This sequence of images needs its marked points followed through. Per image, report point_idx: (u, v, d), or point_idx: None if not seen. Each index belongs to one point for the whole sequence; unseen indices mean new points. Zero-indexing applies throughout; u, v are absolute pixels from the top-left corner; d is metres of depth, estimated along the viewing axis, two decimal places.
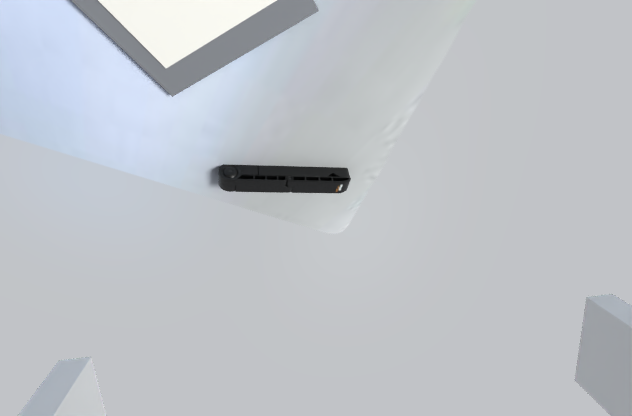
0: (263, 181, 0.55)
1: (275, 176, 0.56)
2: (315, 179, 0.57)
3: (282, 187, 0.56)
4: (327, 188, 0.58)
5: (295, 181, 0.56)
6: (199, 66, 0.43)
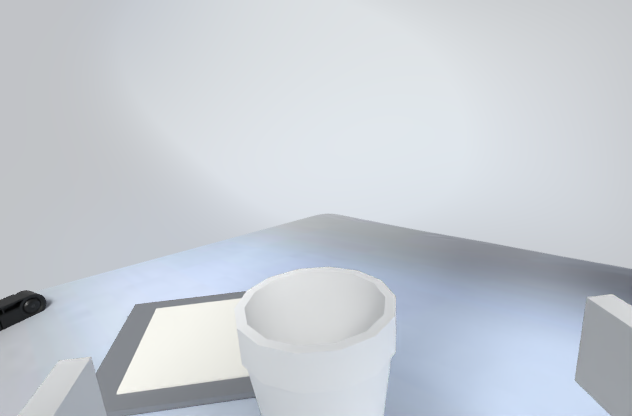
0: None
1: None
2: None
3: None
4: None
5: None
6: (134, 325, 0.46)
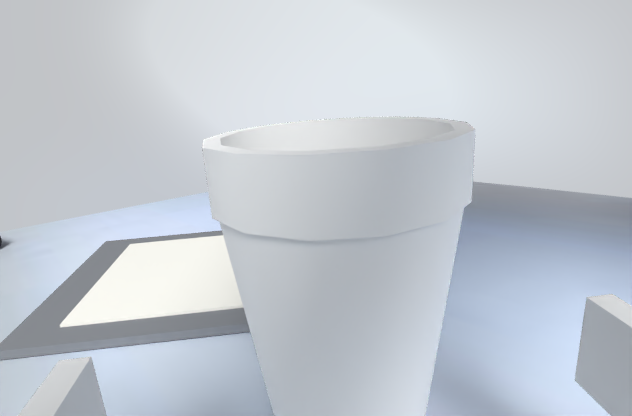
0: None
1: None
2: None
3: None
4: None
5: None
6: (100, 259, 0.37)
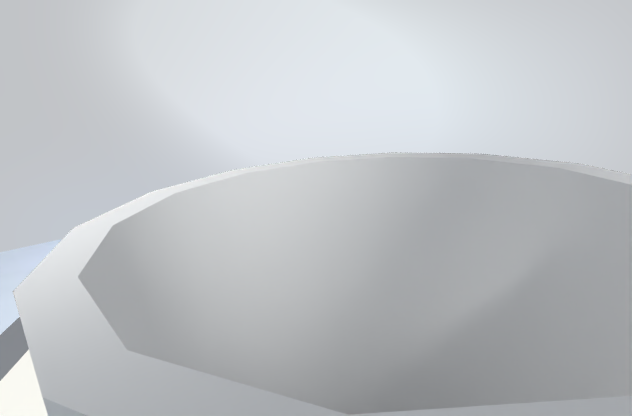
0: None
1: None
2: None
3: None
4: None
5: None
6: None
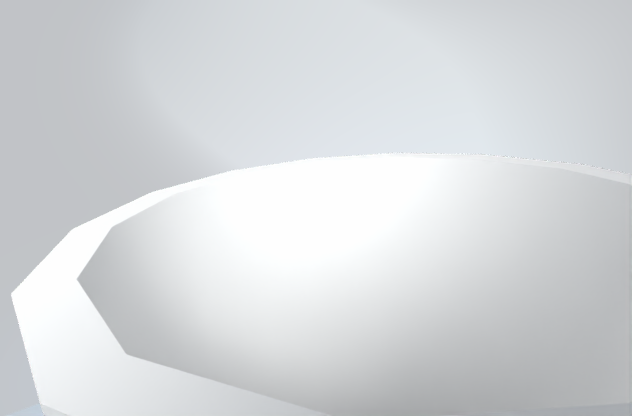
0: None
1: None
2: None
3: None
4: None
5: None
6: None
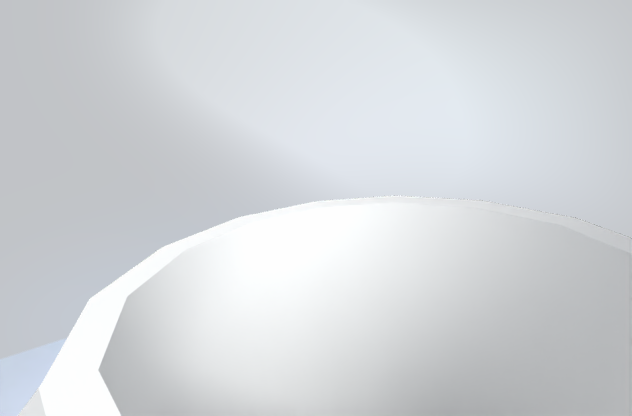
0: None
1: None
2: None
3: None
4: None
5: None
6: None
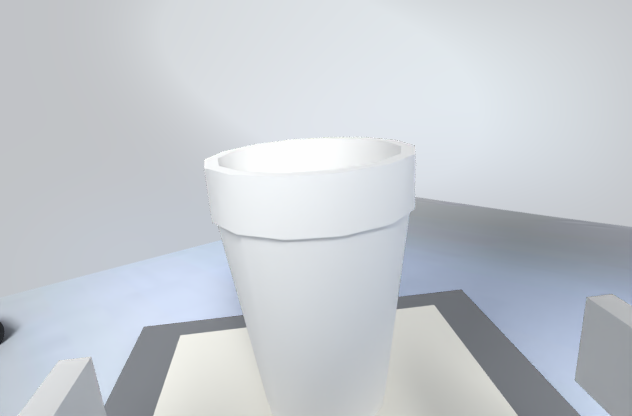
0: None
1: None
2: None
3: None
4: None
5: None
6: (143, 368, 0.26)
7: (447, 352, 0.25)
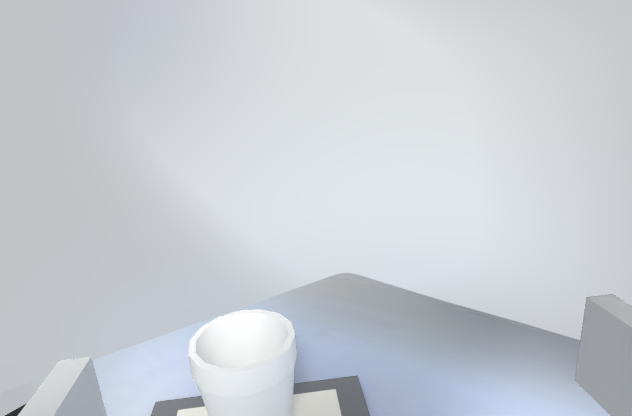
0: None
1: None
2: None
3: None
4: None
5: None
6: None
7: None
